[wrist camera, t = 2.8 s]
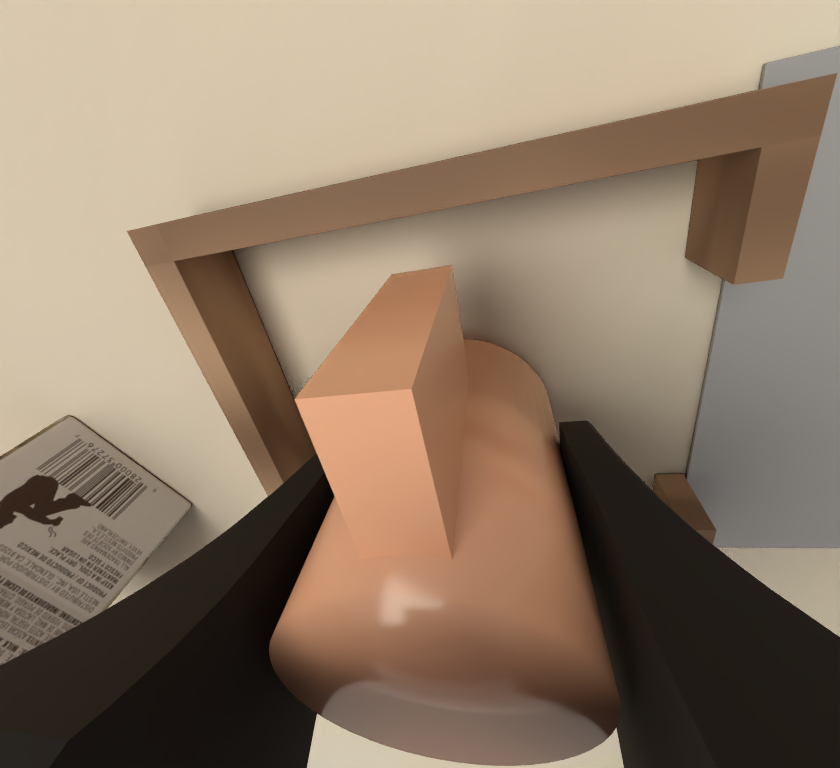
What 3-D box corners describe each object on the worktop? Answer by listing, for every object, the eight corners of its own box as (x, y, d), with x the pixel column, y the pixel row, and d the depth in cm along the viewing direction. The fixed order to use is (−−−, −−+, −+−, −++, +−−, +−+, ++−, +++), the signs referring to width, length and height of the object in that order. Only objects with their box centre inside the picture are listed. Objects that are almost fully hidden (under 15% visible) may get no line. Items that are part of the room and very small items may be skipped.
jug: (552, 475, 12) (611, 782, 6) (400, 480, 13) (328, 744, 7) (543, 228, 9) (660, 404, 3) (336, 264, 10) (101, 441, 4)
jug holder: (671, 537, 14) (698, 596, 12) (334, 536, 17) (315, 584, 15) (752, 91, 8) (837, 72, 6) (190, 216, 11) (126, 231, 9)
